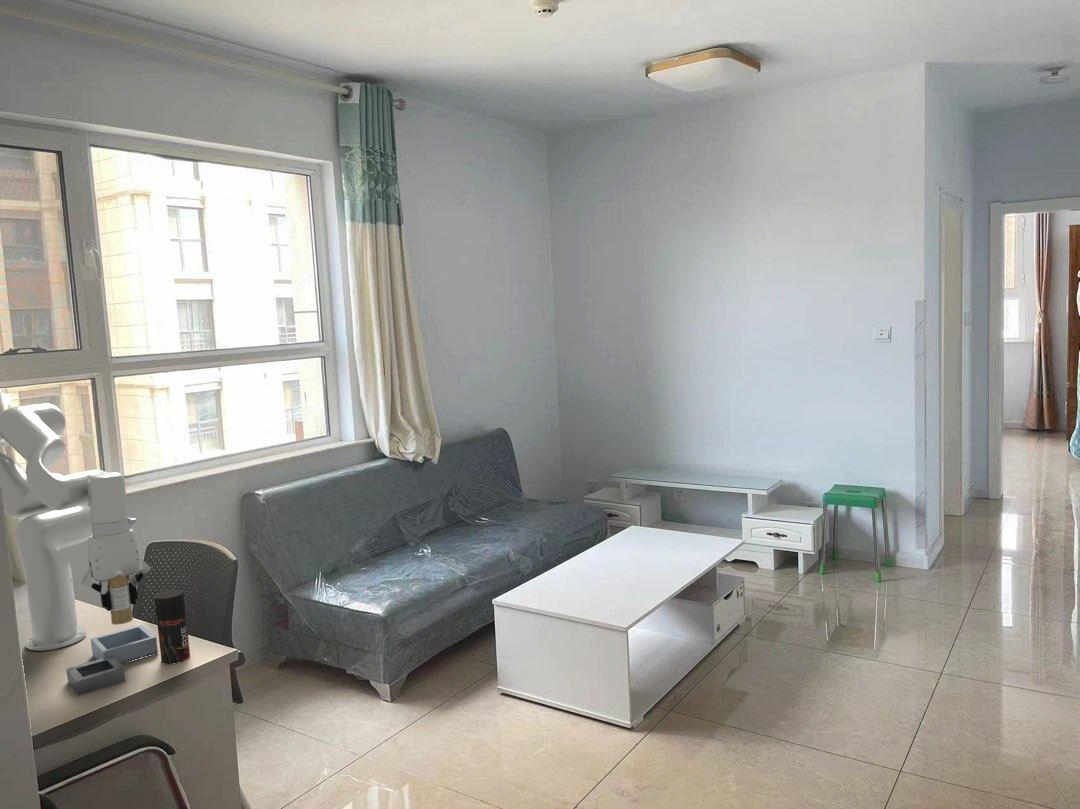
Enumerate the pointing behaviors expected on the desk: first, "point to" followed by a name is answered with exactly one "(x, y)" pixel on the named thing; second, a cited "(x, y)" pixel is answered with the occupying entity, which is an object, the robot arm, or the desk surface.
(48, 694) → the desk surface
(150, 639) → the bin
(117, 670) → the socket collar
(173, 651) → the deodorant
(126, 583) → the sprinkles bottle
